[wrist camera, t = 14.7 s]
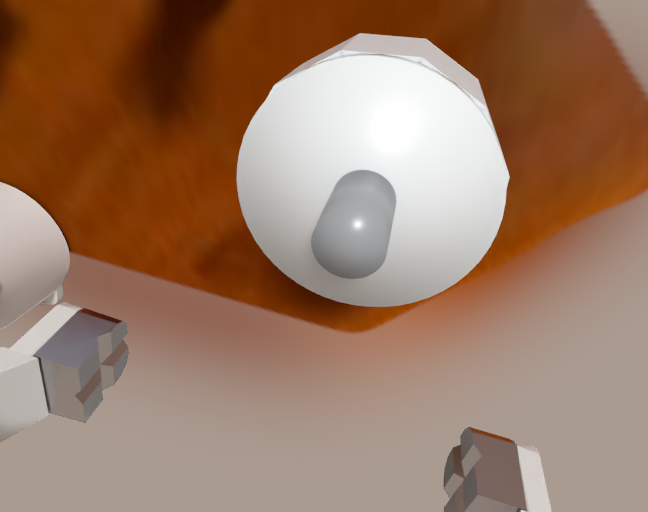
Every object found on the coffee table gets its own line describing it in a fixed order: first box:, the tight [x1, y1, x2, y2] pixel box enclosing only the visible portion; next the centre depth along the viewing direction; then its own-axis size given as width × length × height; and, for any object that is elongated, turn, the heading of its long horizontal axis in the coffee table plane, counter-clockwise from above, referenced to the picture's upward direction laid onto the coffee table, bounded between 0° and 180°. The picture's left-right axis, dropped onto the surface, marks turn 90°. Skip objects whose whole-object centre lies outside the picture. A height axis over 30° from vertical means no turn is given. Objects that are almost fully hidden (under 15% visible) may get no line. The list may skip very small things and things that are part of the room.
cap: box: [237, 33, 510, 307], centre depth 21 cm, size 12×12×10 cm
